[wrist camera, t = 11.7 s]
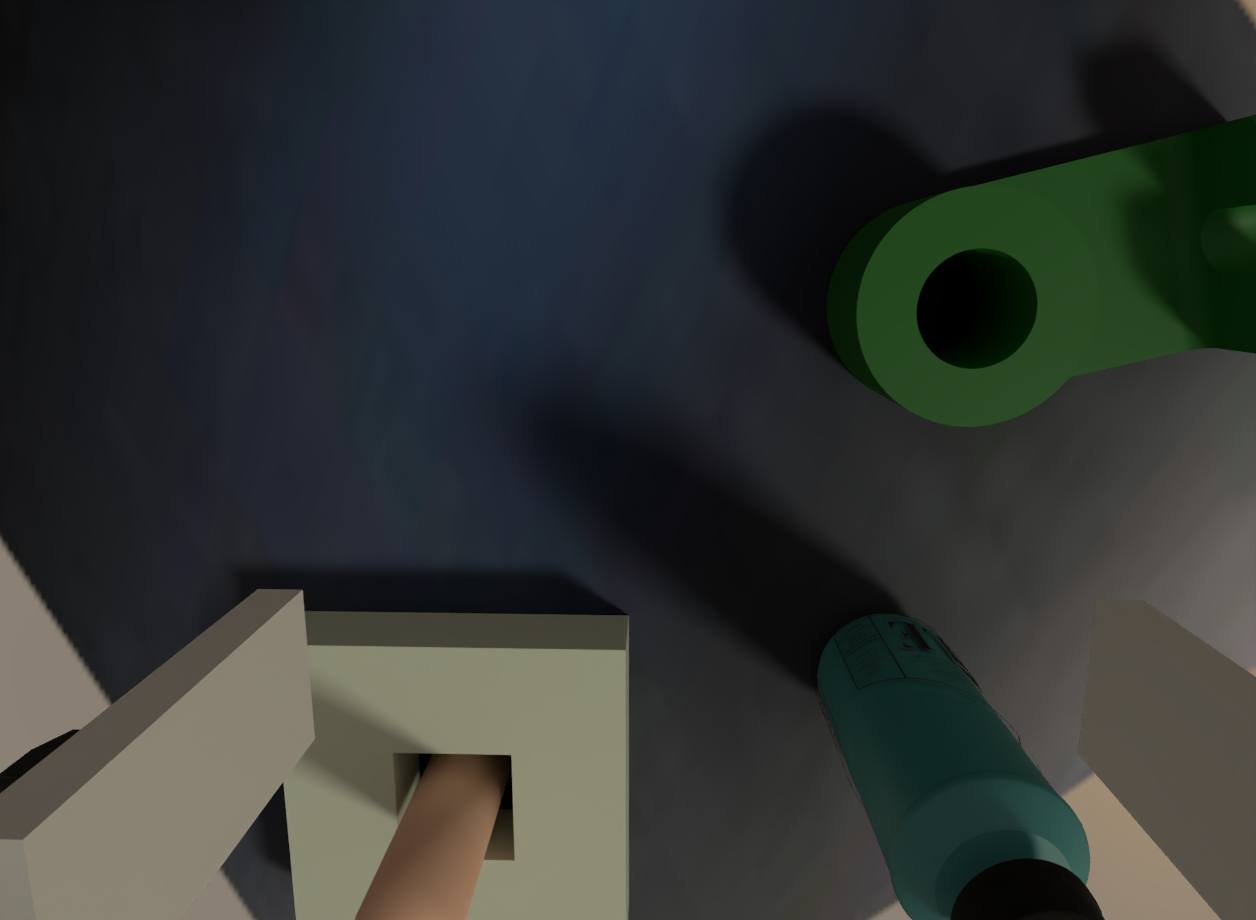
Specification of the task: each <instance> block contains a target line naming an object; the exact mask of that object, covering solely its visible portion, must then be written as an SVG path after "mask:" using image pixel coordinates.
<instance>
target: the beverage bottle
mask: <svg viewBox="0 0 1256 920" xmlns="http://www.w3.org/2000/svg"><path fill="white" fill-rule="evenodd" d="M907 617H908V616H906V617H904V615H902V616H899V614H873V615H868V616H864V617H861V618H859V619H856V620H854V621H852V622H850V623H848V624H847V625H845V626H844V627H842V628H841V629H840V630H839V631H838V632H837V633H836V634H835V635H834V636H833V637H832V638H831V639H830V641H829V642H828V644H827V645H826V647H825V649H824V651H823V653H822V656H821V658H820V663H819V667H818V675H817V676H816V675H815V677H816V678H817V683H818V687H817V689H818V690H815V691H816V692H818V691H819V692H818V693H819V695H820V697H821V700H822V703H823V706H824V708H825V711H826V715H824V716H825V717H826V716H828V717H827V719H828V718H829V719H828V720H829V721H830V723H831V726H832V729H833V731H834V734H833V736H834V735H835V736H836V739H837V741H838V744H839V748H840V749H841V752H842V754H843V757H844V759H845V762H846V764H847V767H848V769H849V772H850V774H851V777H852V779H853V782H854V784H855V786H856V788H857V791H858V793H859V795H860V797H861V800H862V802H863V805H864V808H865V810H866V812H867V815H868V818H869V820H870V823H871V825H872V828H873V830H874V833H875V836H876V838H877V841H878V843H879V846H880V849H881V851H882V854H883V856H884V859H885V861H886V864H887V867H888V869H889V872H890V876H891V881H892V885H893V888H894V891H895V893H896V896H897V898H898V900H899V902H900V904H901V906H902V907H903V909H904V910H905V912H906V913H907V915H908V916H909V917H910V918H911V919H912V920H1105V919H1104V918H1103V916H1102V913H1101V910H1100V908H1099V906H1098V904H1097V902H1096V900H1095V899H1094V897H1093V896H1092V894H1091V893H1090V891H1089V890H1088V888H1087V887H1086V883H1087V880H1088V875H1089V869H1090V853H1089V845H1088V841H1087V837H1086V834H1085V831H1084V829H1083V827H1082V824H1081V822H1080V821H1079V819H1078V817H1077V816H1076V814H1075V813H1074V811H1073V810H1072V809H1071V807H1070V806H1069V805H1068V804H1067V803H1066V801H1065V800H1064V799H1062V798H1061V797H1060V796H1059V795H1058V794H1057V793H1056V792H1055V790H1054V789H1053V788H1052V786H1051V785H1050V784H1049V783H1048V781H1047V780H1046V779H1045V777H1044V776H1043V775H1042V773H1041V771H1039V770H1038V769H1037V767H1036V766H1035V765H1034V763H1033V762H1032V761H1031V760H1030V758H1029V757H1028V756H1027V754H1026V753H1025V751H1024V750H1023V748H1022V747H1021V743H1020V744H1019V742H1020V739H1019V742H1018V741H1017V740H1016V738H1015V737H1014V736H1013V734H1012V733H1011V732H1010V730H1009V729H1008V728H1007V727H1006V725H1005V724H1004V723H1003V721H1002V720H1001V719H1000V718H999V716H998V715H997V714H996V711H995V710H994V709H992V707H991V706H990V705H989V703H988V702H987V701H986V700H985V698H984V697H983V696H982V693H980V692H979V691H978V690H979V689H980V688H979V689H977V688H976V687H975V684H976V686H978V684H977V683H976V681H975V680H974V678H973V677H972V676H971V674H970V673H969V672H968V670H967V669H966V668H965V669H966V670H967V672H968V673H969V674H970V676H971V677H972V678H971V677H970V676H969V675H968V673H966V671H965V669H963V668H964V667H965V666H964V665H963V664H962V662H961V661H960V660H959V661H960V662H961V663H960V662H959V661H958V659H957V658H958V657H957V656H956V657H957V658H956V657H955V656H954V655H955V654H953V653H954V652H953V651H952V652H951V651H950V650H951V649H949V648H950V647H949V648H948V647H947V645H946V644H947V643H946V642H945V643H946V644H945V643H944V642H943V640H942V639H941V638H940V637H938V636H937V635H938V634H937V633H936V634H937V635H936V634H934V633H933V632H931V631H930V630H929V629H930V628H931V627H930V628H929V629H928V627H926V626H924V625H923V624H921V623H919V622H917V621H915V620H912V619H910V618H911V617H910V618H907ZM913 619H914V618H913ZM916 620H917V619H916ZM918 621H919V620H918ZM920 622H921V621H920ZM922 623H923V622H922ZM924 624H925V623H924ZM931 630H932V629H931ZM932 631H933V630H932ZM934 631H935V630H934ZM935 635H936V636H937V637H938V638H937V637H936V636H935ZM940 641H941V642H942V643H941V642H940ZM944 646H945V647H944ZM947 650H948V651H949V652H948V651H947ZM951 655H952V656H951ZM954 659H955V660H954ZM957 662H958V663H960V664H961V665H962V666H964V667H963V668H962V667H961V666H960V664H959V665H958V663H957ZM965 673H966V674H967V675H966V674H965ZM968 677H970V678H971V679H972V680H973V681H974V683H975V684H973V683H972V680H970V679H969V678H968ZM978 687H979V686H978ZM980 691H981V690H980ZM983 692H984V691H983ZM984 693H985V692H984ZM816 696H817V695H816ZM817 697H818V696H817ZM818 700H819V698H818ZM818 702H820V701H818ZM820 704H821V703H820ZM820 707H822V706H820ZM824 708H821V709H823V711H824ZM823 711H822V712H823ZM823 714H824V712H823ZM999 715H1000V714H999ZM1000 716H1001V715H1000ZM825 717H824V718H825ZM1001 717H1002V716H1001ZM1002 718H1003V717H1002ZM825 719H826V718H825ZM1003 719H1004V718H1003ZM828 720H827V721H828ZM1004 720H1005V719H1004ZM827 721H826V722H827ZM1005 721H1006V720H1005ZM1006 722H1007V721H1006ZM827 723H828V722H827ZM1007 723H1008V722H1007ZM1008 724H1009V723H1008ZM1009 725H1010V724H1009ZM1010 726H1011V725H1010ZM828 727H829V724H828ZM1011 727H1012V726H1011ZM829 728H830V727H829ZM830 730H831V729H830ZM1014 731H1015V730H1014ZM830 732H831V733H832V731H830ZM1016 733H1017V732H1016ZM1017 735H1018V734H1017ZM833 736H832V738H833ZM835 736H834V737H835ZM1018 737H1020V736H1018ZM834 739H835V738H834ZM834 739H833V740H834ZM834 744H835V743H834ZM835 745H836V744H835ZM836 746H837V745H836ZM837 748H838V746H837ZM838 753H839V752H838ZM840 754H841V753H840ZM1032 756H1033V755H1032ZM840 758H841V757H840ZM841 759H842V758H841ZM842 763H843V762H842ZM843 766H844V765H843ZM1038 767H1039V766H1038ZM1039 769H1040V768H1039ZM845 771H846V770H845ZM848 779H849V778H848ZM850 784H851V783H850ZM851 787H852V786H851ZM852 789H853V788H852ZM853 791H854V790H853ZM856 796H857V795H856ZM859 801H860V800H859ZM861 804H862V803H861Z"/></svg>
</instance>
